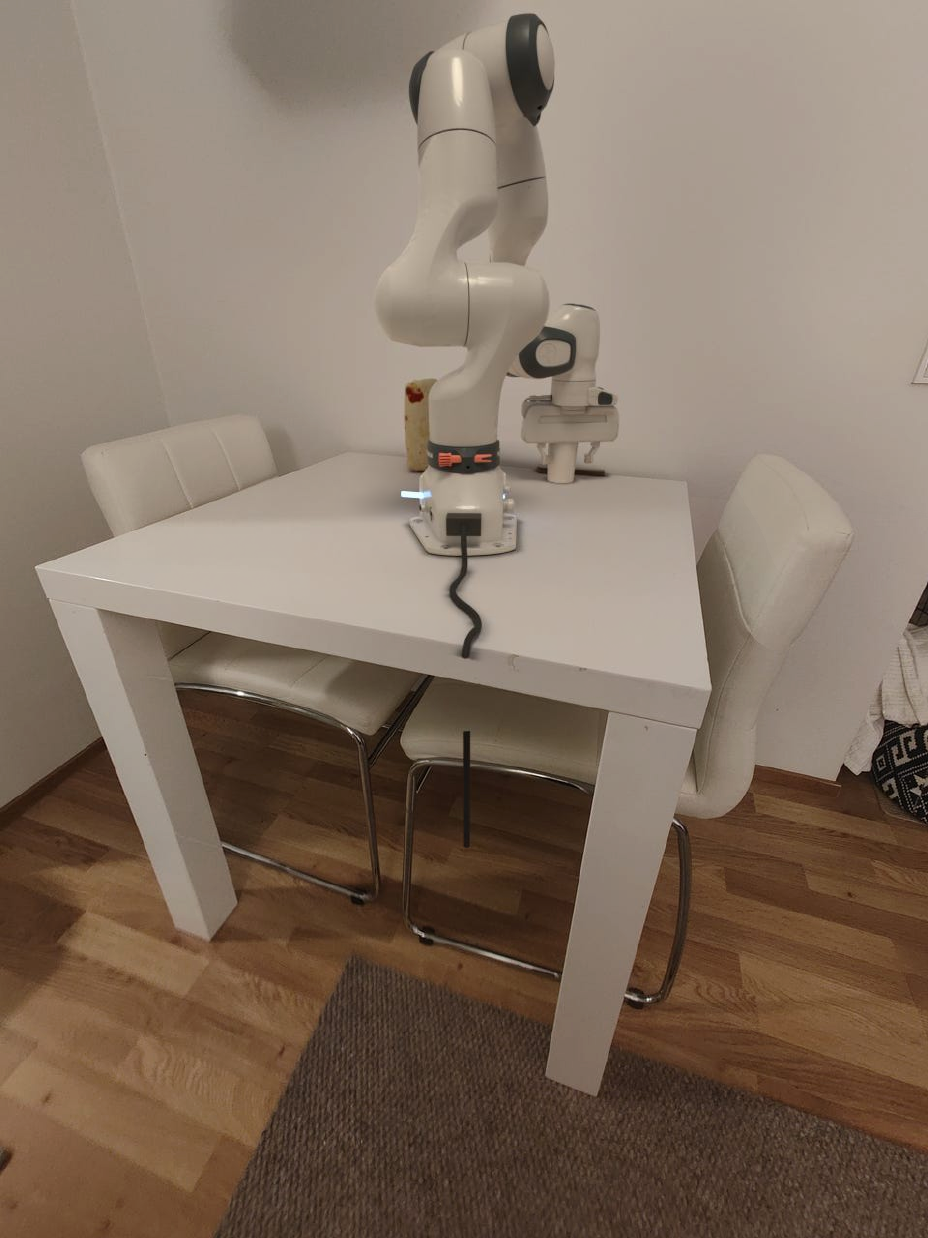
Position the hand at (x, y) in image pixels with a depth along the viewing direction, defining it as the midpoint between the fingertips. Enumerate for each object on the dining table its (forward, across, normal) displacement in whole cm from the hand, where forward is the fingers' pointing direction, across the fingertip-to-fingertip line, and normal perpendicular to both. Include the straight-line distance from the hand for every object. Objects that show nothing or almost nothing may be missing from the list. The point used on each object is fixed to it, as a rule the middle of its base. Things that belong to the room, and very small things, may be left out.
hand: (566, 463), depth 122 cm
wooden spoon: (+4, +3, +8) cm, 10 cm away
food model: (+4, -30, +14) cm, 33 cm away
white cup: (+4, 0, +2) cm, 5 cm away
